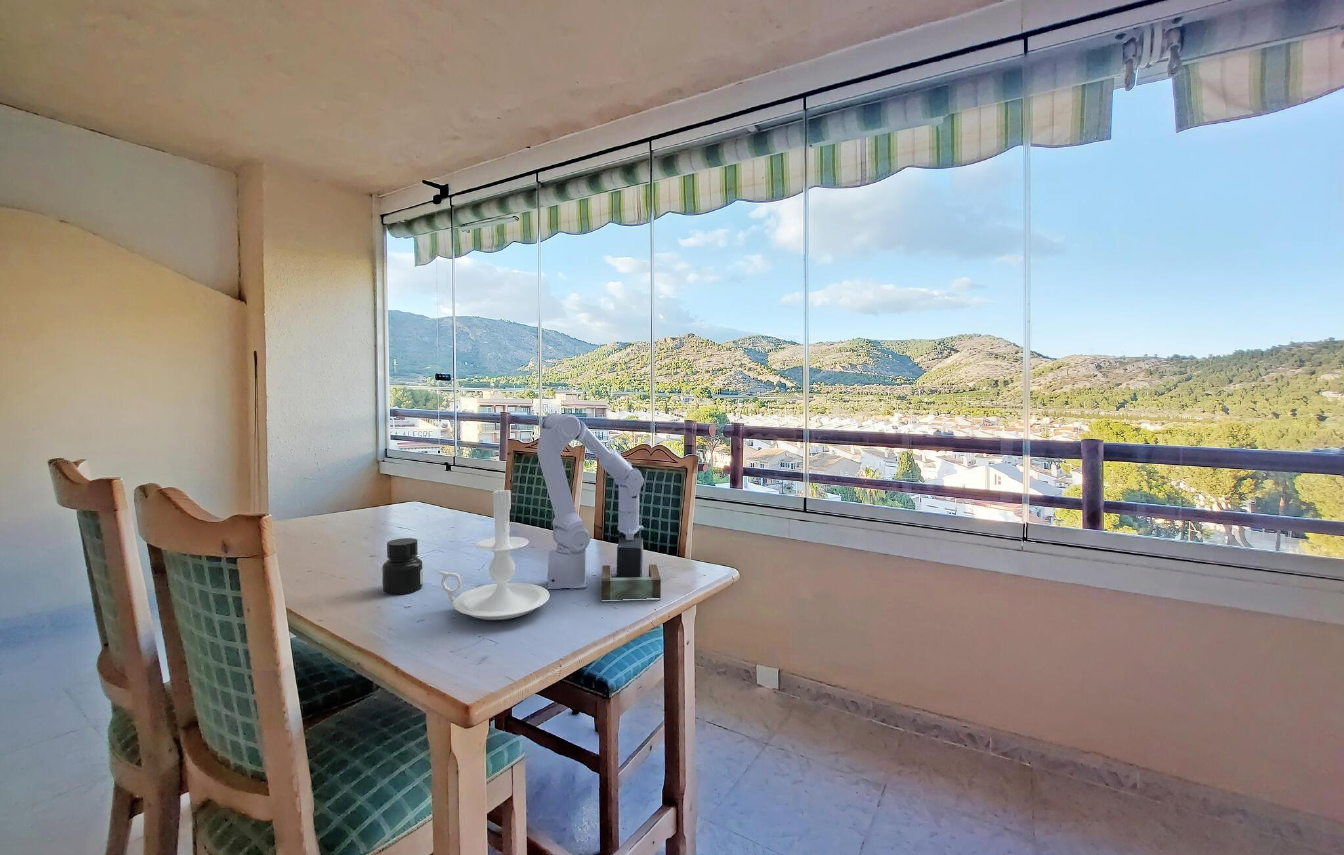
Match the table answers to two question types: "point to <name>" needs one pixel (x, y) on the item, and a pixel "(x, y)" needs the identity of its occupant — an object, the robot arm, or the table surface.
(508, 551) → the candlestick
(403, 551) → the ink bottle
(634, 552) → the small box
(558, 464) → the robot arm
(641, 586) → the book slot
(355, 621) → the table surface
